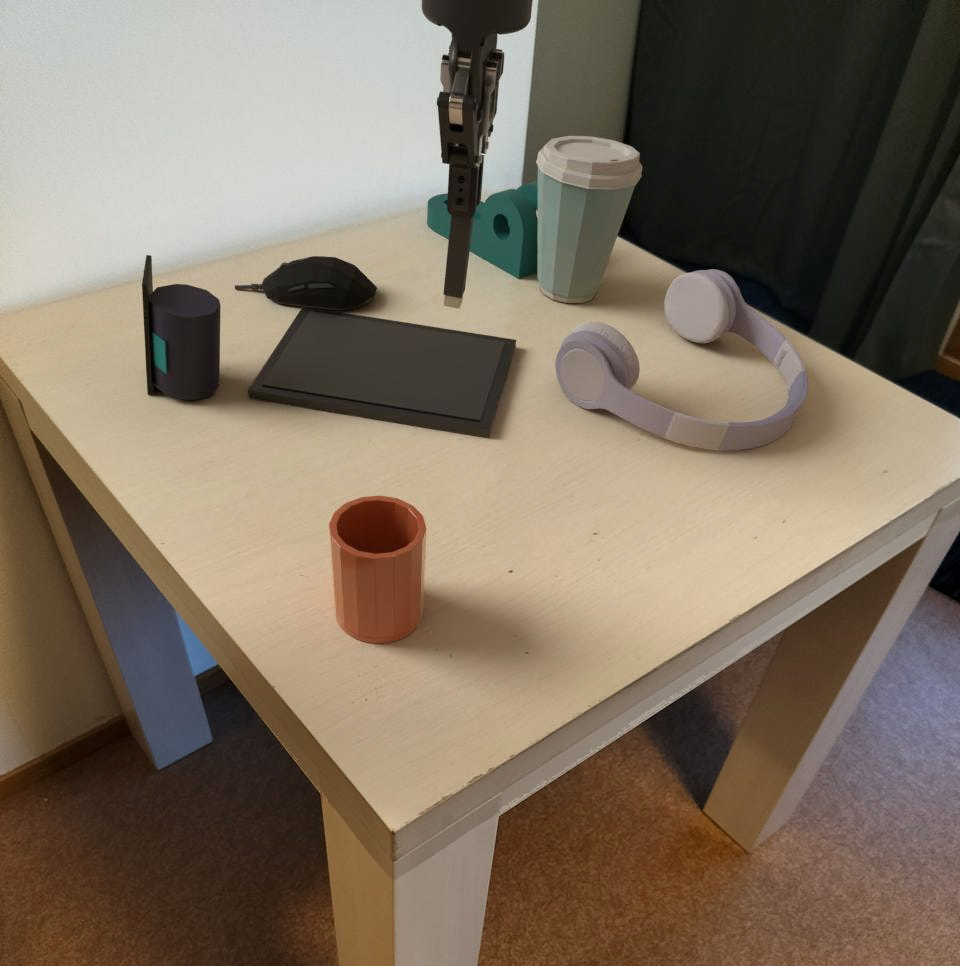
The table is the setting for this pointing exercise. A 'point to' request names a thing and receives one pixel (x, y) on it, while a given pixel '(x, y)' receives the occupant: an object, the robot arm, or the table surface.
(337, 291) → the gaming mouse
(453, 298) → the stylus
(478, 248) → the bracket
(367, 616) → the pen cup
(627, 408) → the headphones
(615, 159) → the disposable coffee cup
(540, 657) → the table surface
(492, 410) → the tablet
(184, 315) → the speaker
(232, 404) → the table surface
